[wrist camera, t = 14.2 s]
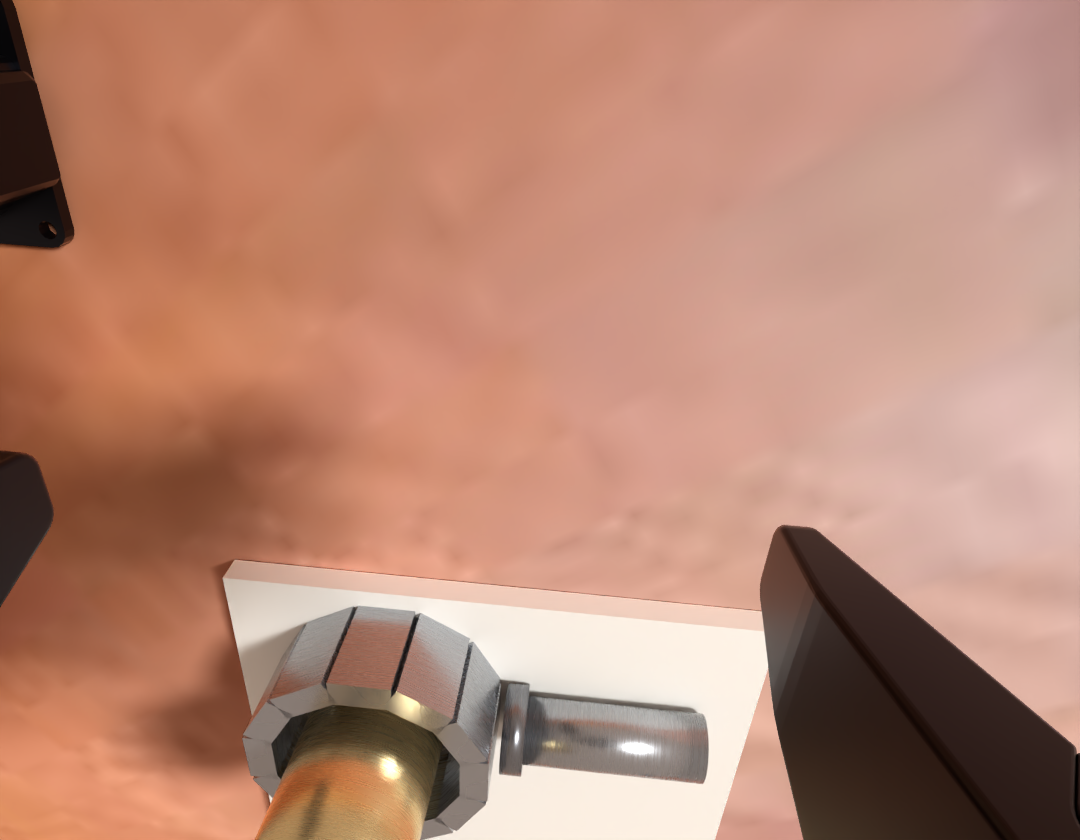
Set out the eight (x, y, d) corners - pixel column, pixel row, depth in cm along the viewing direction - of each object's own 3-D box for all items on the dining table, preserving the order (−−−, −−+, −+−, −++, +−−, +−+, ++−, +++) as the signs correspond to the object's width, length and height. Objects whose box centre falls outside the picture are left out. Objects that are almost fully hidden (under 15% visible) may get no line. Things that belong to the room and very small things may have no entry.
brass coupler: (336, 724, 30) (219, 1021, 21) (318, 637, 27) (176, 934, 18) (457, 736, 29) (389, 1043, 21) (451, 649, 27) (370, 958, 18)
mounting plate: (291, 843, 36) (283, 864, 35) (234, 559, 27) (222, 577, 26) (690, 888, 35) (692, 910, 34) (772, 612, 26) (778, 633, 25)
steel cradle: (317, 842, 35) (286, 931, 31) (275, 589, 27) (227, 673, 23) (654, 880, 34) (660, 975, 31) (716, 632, 26) (733, 725, 23)
